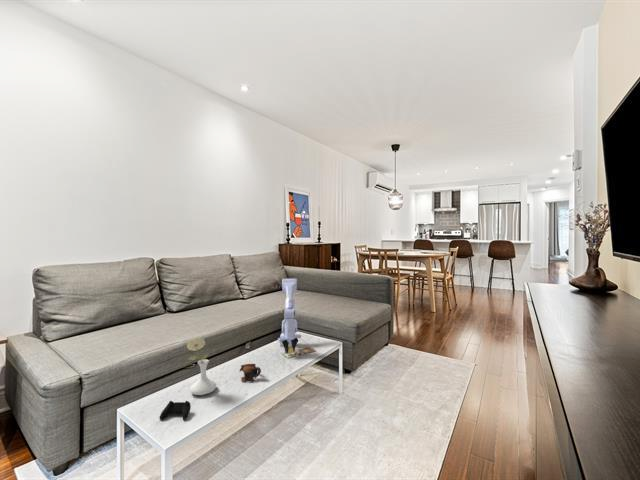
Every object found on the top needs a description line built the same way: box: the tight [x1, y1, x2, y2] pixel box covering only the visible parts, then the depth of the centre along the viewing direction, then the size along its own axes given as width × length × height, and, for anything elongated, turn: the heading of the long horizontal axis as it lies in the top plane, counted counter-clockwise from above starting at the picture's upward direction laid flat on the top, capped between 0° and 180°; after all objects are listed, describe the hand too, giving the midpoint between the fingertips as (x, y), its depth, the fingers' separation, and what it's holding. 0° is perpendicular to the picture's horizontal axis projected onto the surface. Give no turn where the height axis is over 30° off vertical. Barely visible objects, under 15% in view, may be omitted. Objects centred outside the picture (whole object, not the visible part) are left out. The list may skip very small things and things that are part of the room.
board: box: [280, 346, 317, 360], centre depth 184 cm, size 20×9×4 cm, turn 124°
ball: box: [288, 346, 293, 353], centre depth 180 cm, size 4×4×4 cm
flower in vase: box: [186, 337, 217, 396], centre depth 140 cm, size 13×11×25 cm
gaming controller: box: [159, 400, 192, 421], centre depth 121 cm, size 11×4×7 cm
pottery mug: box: [239, 363, 262, 383], centre depth 154 cm, size 12×10×8 cm
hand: (289, 351), depth 180 cm, fingers closed on ball, 4 cm apart
